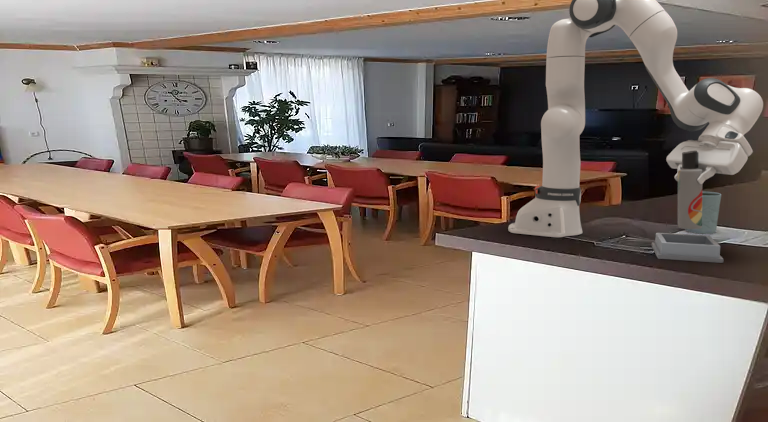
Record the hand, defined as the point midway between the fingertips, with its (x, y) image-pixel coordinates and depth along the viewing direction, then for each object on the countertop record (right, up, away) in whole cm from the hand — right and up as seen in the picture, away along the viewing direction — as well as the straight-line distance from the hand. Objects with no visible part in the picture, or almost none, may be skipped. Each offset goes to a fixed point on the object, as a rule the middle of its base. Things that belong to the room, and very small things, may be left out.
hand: (687, 180), depth 156 cm
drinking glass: (+20, -14, +33) cm, 41 cm away
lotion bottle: (+1, -12, +1) cm, 13 cm away
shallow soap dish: (+1, -19, +4) cm, 20 cm away
